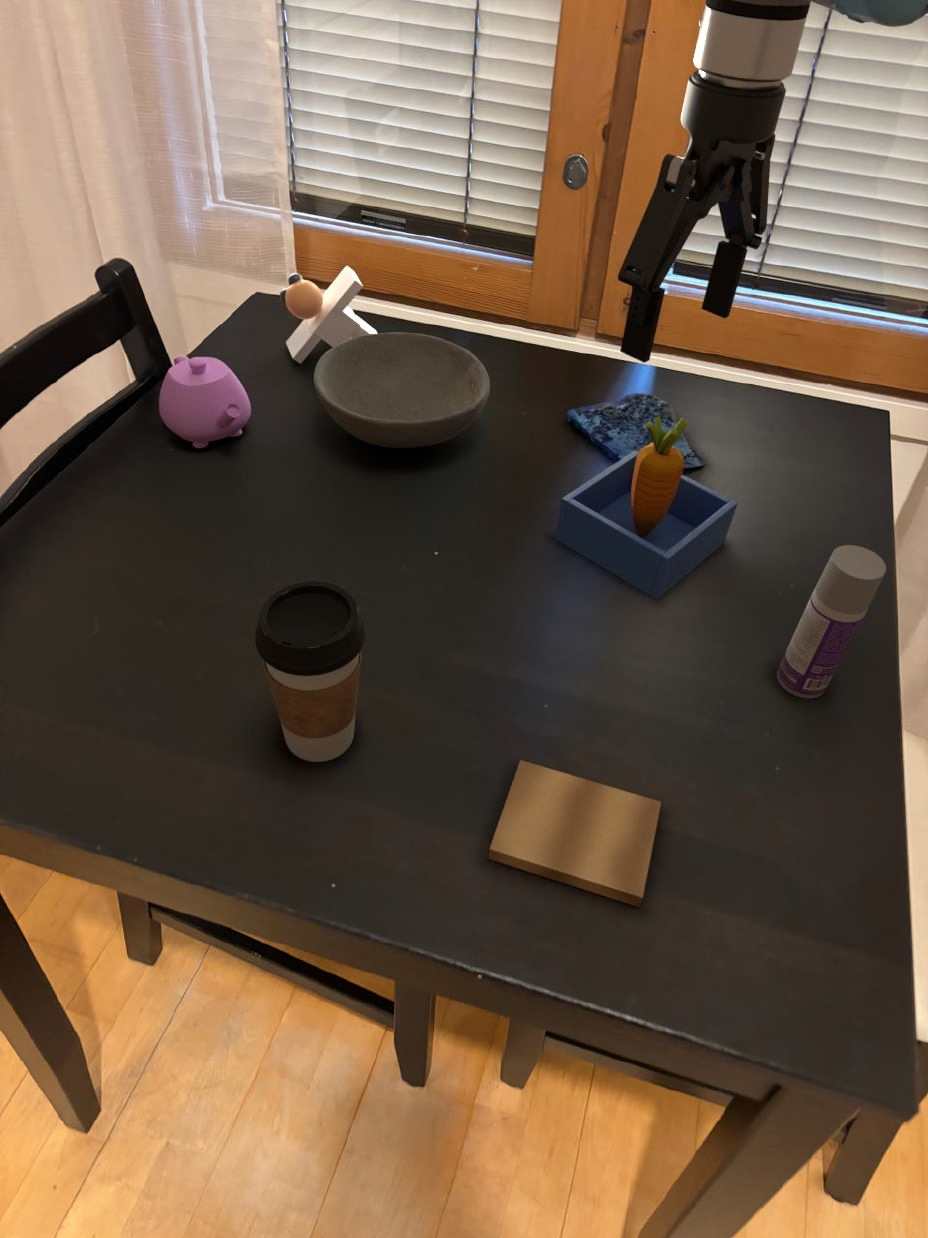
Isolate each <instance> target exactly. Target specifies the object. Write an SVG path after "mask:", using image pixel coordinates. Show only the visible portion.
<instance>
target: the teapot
mask: <svg viewBox="0 0 928 1238" xmlns="http://www.w3.org/2000/svg"><path fill="white" fill-rule="evenodd" d="M173 364H174V365H173V366H171V367H169V369H168V370H167V372H166V374H165V377H164V379H163V382H162V385H161V388H160V391H159V396H158V397H159V398H158V409H159V410H158V411H159V416H160V418H161V420H162V422H163V424H165V426H166V427H167V428H168V429H169V430H170V431H172V432H173V433H174V434H175V435H176V436H177V437H179V438H181V439H182V440H185V441H186V442H192V447H194V448H196V449H203V448H206V447H208V446H209V442H213V441H218V440H222V439H225V438H227V437H233V438H234V437H239V436H241V435H242V434H243V430H242V429H243V428H244V426H246V424H247V423H248V421H249V419H250V418H251V415H252V406H251V401H250V399H249V396H248V394H247V391H246V390H245V388H244V386H243V384H242V383H241V382H240V381H241V380H239V378H238V377H237V376H236V374H235V373H234V372H233V370H231V368H230V367H229V366H228V365H227V364H226V363H224V362H223V361H222V360H220V359H218V358H216V357H211V356H194V357H192V358H189V356H187V355H185V354H181V355H177V356H175V357H174V359H173Z"/></svg>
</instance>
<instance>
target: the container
mask: <svg viewBox="0 0 928 1238" xmlns="http://www.w3.org/2000/svg"><path fill="white" fill-rule="evenodd" d="M886 572H887V565H886V563H885V561H884V560H883V559H882V558H881V556H880V555H878V554H877V553H876V552H875V551H872V550H870V549H868V548H865V547H862V546H859V545H853V544H847V545H841V546H838V547H836V548H835V549H834V550H833V552H832V554H831V555H830V557H829V559H828V561H827V563H826V565H825V567H824V569H823V572H822V573H821V575H820V577H819V579H818V581H817V583H816V586H815V588H814V589H813V591H812V593H811V595H810V598H809V600H808V602H807V604H806V607H805V609H804V611H803V613H802V616H801V618H800V619H799V622H798V624H797V626H796V628H795V630H794V632H793V635H792V637H791V639H790V642H789V644H788V646H787V648H786V651H785V653H784V655H783V657H782V659H781V661H780V664H779V666H778V668H777V671H776V678H777V682H778V684H779V685H780V686H781V687H782V689H784V690H785V691H787V693H789V694H791V695H793V696H795V697H798V698H802V699H815V698H818V697H820V696H822V695H823V694H824V693H825V692H826V690H827V688H828V687H829V685H830V682H831V681H832V679H833V677H834V675H835V673H836V671H837V670H838V667H839V665H840V664H841V662H842V660H843V658H844V656H845V655H846V653H847V650H848V648H849V647H850V645H851V643H852V641H853V639H854V637H855V635H856V633H857V631H858V630H859V628H860V627H861V624H862V622H863V620H864V618H865V616H866V614H867V612H868V610H869V608H870V606H871V604H872V602H873V599H874V597H875V595H876V593H877V591H878V589H879V587H880V585H881V583H882V581H883V579H884V577H885V575H886Z"/></svg>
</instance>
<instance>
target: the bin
mask: <svg viewBox="0 0 928 1238" xmlns="http://www.w3.org/2000/svg"><path fill="white" fill-rule="evenodd" d="M637 454H638V452H637V451H633V452H632V453H630V454H629V455H627V456H626V457H624V458H623V459H621V460H620V461H618V462H615V463H613V464H611V466H609V467H607V468H606V469H604V470H603V471H601V472H599V473H598V474H596V475H595V476H594V477H593V478H592V477H591V479H589V480H588V481H586V482H585V483H583V484H581V485H580V486H579V487H577V488H575V489H574V490H573V491H571V492H570V493H568V494H567V495H565V496H563V497H562V498H561V502H560V509H559V516H558V520H557V526H556V532H555V538H554V540H556V541H558V542H560V543H561V544H563V545H565V546H566V547H568V548H569V549H571V550H573V551H575V552H576V553H578V554H579V555H581V556H583V557H585V558H586V559H588V560H590V562H593V563H595V564H596V565H598V566H600V567H601V568H603V569H605V570H606V571H608V572H609V573H611V574H613V575H614V576H616V577H617V578H619V579H621V580H623V581H624V582H626V583H628V584H630V585H631V586H633V587H634V588H636V589H638V590H639V591H641V592H643V593H645V594H646V595H648V596H649V597H651V598H653V599H654V600H658V599H659V598H661V597H662V596H663V595H664V594H665V593H667V592H668V591H670V589H671V588H672V587H674V586H675V585H676V584H678V583H679V582H680V581H681V580H682V579H683V578H684V577H686V575H688V574H689V573H690V572H691V571H693V570H694V569H695V568H696V567H697V566H698V565H700V564H701V563H702V562H703V561H704V560H706V559H707V558H709V556H710V555H712V554H713V553H714V552H715V551H717V550H718V549H719V548H720V547H722V545H723V544H725V542H726V538H727V536H728V534H729V530H730V527H731V524H732V521H733V518H734V516H735V511H736V509H737V507H738V504H739V503H738V501H737V502H736V501H734V500H733V499H731V498H729V497H727V496H725V495H723V494H721V493H719V492H717V491H715V490H713V489H711V488H709V487H707V486H705V485H704V484H701V483H700V482H698V481H696V480H694V479H692V478H690V477H689V476H686V475H684V474H682V476H681V479H680V482H679V485H678V488H677V491H676V494H675V497H674V499H673V501H672V503H671V505H670V507H669V509H668V511H667V512H666V514H665V516H664V518H663V519H662V520H661V522H660V523H659V524H658V525H657V526H656V528H654V529H653V530H652V531H651V532H650V533H649V534H648V535H647V536H645V537H640V536H639V535H637V532H636V529H635V526H634V522H633V516H632V511H631V487H632V480H633V474H634V468H635V463H636V458H637Z"/></svg>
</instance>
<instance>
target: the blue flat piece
mask: <svg viewBox="0 0 928 1238" xmlns="http://www.w3.org/2000/svg"><path fill="white" fill-rule="evenodd" d="M566 415H567V420H568V423H572V422H574V425H575V428H576V429H580V430H582V431H581V432H582V433H583V434H584V435H586V436H587V437H588V438H589V439H590V441H591V442H592V443H593V444H594V445H595V446H596V447H597V446H598V447H600V449H602V450H603V452H606V453H607V454H608V457H609V459H610V460H611V461H614V462H615V463H617V462H618V461H620V460H621V459H623V458H624V457H626V456H627V455H629V454H630V453H632V452H633V451H637V452H639V450H640V449H642V448H644V447H645V446H647V445H649V444H651V443H653V441H652V438H651V436H650V433H649V431H648V429H647V427H646V425H647V423H648V422H652V423H653V424H654V425H655V427H656V428H657V426H656V422H655V418H657V417H660V419H661V423H662V434H663V431H665V430H666V431H667V432H669V431H670V430H671V429H672V428H673V429H675V427H676V426H677V424H678V423H679V421H678V420H677V416H676V414H675V411H674V409H673V408H672V406H671V405H670V402H668V401H665V400H663V399H661V398H660V397H658V396H655V395H652V394H649V393H642V392H641V393H640V392H631V393H629V394H627V395H625V396H624V397H623V398H620V399H619V400H614V401H613V400H611V401H603V402H599V403H595V404H589V405H585V406H580V407H577V408H572V409H569V410H568V411H566ZM681 434H682V437H681V438H680V439H679V440H678V441H677V442H676V443H675V444H674V445H673V447H675V448H677V449H679V450H680V451H681V454H682V457H683V460H684V469H690V468H695V467H701V466H705V464H706V461H705V459H704V458H703V457H702V456H701V455H700V454H699V452H697V451H696V450H695V448H694V446H690V445H689V443H688V442H687V441H688V440H687V438H686V436H685V434H684V431H682V433H681Z"/></svg>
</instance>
